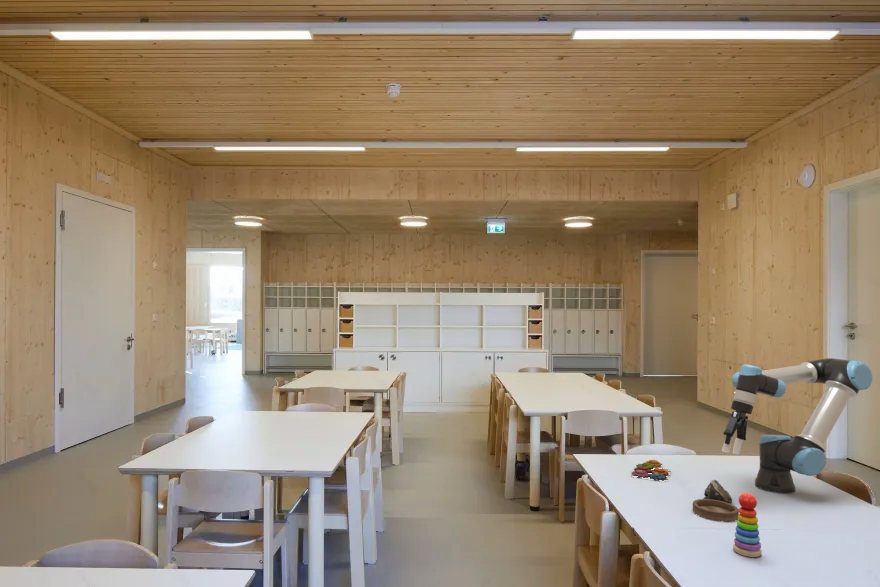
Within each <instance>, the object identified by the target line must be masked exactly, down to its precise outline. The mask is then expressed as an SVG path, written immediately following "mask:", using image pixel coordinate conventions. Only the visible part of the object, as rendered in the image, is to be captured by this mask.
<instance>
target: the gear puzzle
mask: <svg viewBox="0 0 880 587" xmlns="http://www.w3.org/2000/svg"><path fill="white" fill-rule="evenodd" d="M635 465H636V467H634V468H633V471H631V475H633V476H638V477H643V478H648V477H650V479H658V480H662V481H664V480H668V477H666V476H670V477H671V475H670V473H668V472H671V470H669V469H667V468H664V467H662V466H663V464H662V463H661V462H659V461H658V460H655V459H649V460H648V461H647V460H646V461H645V462H643V463H638V464H635ZM661 465H662V466H661ZM653 466H656V467H653ZM659 466H661V468H662V469H659V468H660V467H659ZM653 468H655V469H654V470H651V469H653ZM663 468H664V469H663ZM668 470H669V471H668ZM648 473H652V474H648ZM638 477H637V478H638ZM658 480H657V481H658Z"/></svg>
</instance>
